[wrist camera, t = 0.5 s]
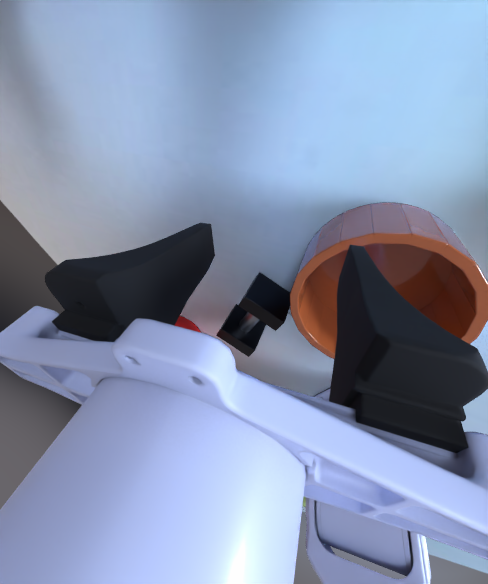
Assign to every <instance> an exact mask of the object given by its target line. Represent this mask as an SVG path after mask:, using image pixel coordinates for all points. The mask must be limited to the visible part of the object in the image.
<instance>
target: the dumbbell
mask: <svg viewBox="0 0 488 584" xmlns="http://www.w3.org/2000/svg"><path fill="white" fill-rule="evenodd" d="M289 308H290V292H288V291H287V290H285V289H284V288H282V287H281V286H279V285H278V284H276V283H275V282H273V281H272V280H270V279H269V278H267V277H266V276H264V275H263V274H261V273H259V274H258V275H257V276H256V278H255V279H254V280H253V282H252V284H251V285H250V287H249V289H248V290H247V292H246V294H245V295H244V297H243V298H242V300H241V302H240V303H239V305H237V304H236V305H235V307H234V308H233V309H232V311H231V312H230V314H229V316H228V317H227V319H226V320H225V322H224V324H223V325H222V327H221V328H220V330H219V332H218V333H217V336H218V337H220V338H221V339H223V340H224V341H226V342H227V343H229V344H230V345H232V346H233V347H235V348H236V349H238V350H239V351H241V352H242V353H244V354H245V355H247V356H248V357H249V356H250V355H251V354H252V353H253V352H254V351H255V349H256V347H257V344H258V342H259V340H260V337H261V335H262V333H263V330H264V328H265V326H266V325H268V326H269V327H271V328H272V329H274V330H275V331H276V330H277V329H278V328H279V327H280V326H281V325H282V324H283V323H284V322H285V319H286V316H287V313H288V310H289Z"/></svg>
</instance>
